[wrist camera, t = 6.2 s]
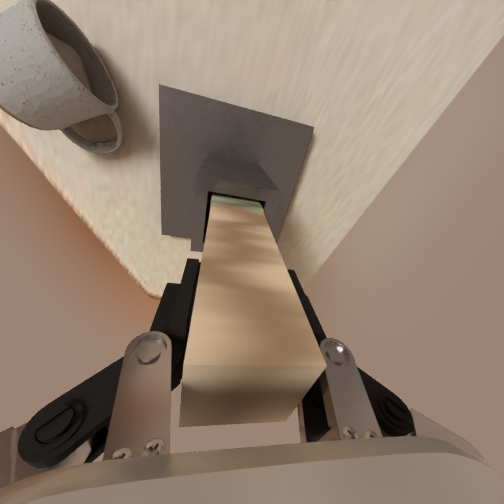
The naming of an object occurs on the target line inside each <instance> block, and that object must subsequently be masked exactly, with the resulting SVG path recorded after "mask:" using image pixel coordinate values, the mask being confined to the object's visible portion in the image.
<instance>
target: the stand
mask: <svg viewBox="0 0 504 504" xmlns="http://www.w3.org/2000/svg"><path fill="white" fill-rule="evenodd" d="M159 115H160V170H161V224H162V235H170V236H177V237H185V238H192V239H191V251H198V252H203V249H204V243H205V238H206V232H207V226H208V220H209V214H210V206H211V199H212V196H213V192H217V193H222V194H228V195H233V196H239V197H244V198H250V199H255V200H258V201H259V203H260V204H261V206H262V208H263V210H264V212H263V213H264V215H265V217H266V220H267V222H268V225H269V227H270V230H271V232H272V234H273V237H274V239H275V242H276V244H277V241H278V238H279V235H280V231H281V228H282V225H283V222H284V219H285V216H286V213H287V210H288V207H289V204H290V201H291V198H292V194H293V191H294V188H295V185H296V182H297V179H298V176H299V173H300V170H301V167H302V164H303V160H304V157H305V154H306V151H307V148H308V145H309V142H310V139H311V136H312V133H313V130H314V127H312V126H308V125H305V124H301V123H297V122H294V121H290V120H287V119H283V118H279V117H276V116H272V115H268V114H265V113H261V112H258V111H254V110H250V109H247V108H243V107H239V106H236V105H232V104H229V103H225V102H221V101H218V100H214V99H210V98H207V97H203V96H200V95H196V94H192V93H189V92H185V91H181V90H178V89H174V88H171V87H167V86H163V85H160V84H159Z"/></svg>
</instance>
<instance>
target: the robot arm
mask: <svg viewBox="0 0 504 504" xmlns="http://www.w3.org/2000/svg"><path fill="white" fill-rule="evenodd" d="M200 266H201V262H199V259H190V258H188V259H187V262H186V266H185V270H184V273H183V277H182V280H181V284H176V283H167V285H166V287H165V290H164V293H163V295H162V298H161V301H160V304H159V307H158V309H157V312H156V315H155V317H154V320H153V323H152V326H151V329H150V331H149V332H146V333H143V334H141V335H139V336H137V337H136V338H135V339H133V340H132V341H131V342H130V344H129V345H128V346H127V349H126V351H125V355H124V357H122V358H120V359H119V360H117V361H116V362H114V363H112V364H111V365H109V366H108V367H106V368H104V369H103V370H101V371H100V372H98V373H97V374H95V375H93V376H92V377H90V378H89V379H87V380H85V381H84V382H82V383H81V384H79V385H77V386H76V387H74V388H73V389H71V390H70V391H68V392H66V393H65V394H63V395H62V396H60V397H58V398H57V399H55V400H54V401H52V402H51V403H49V404H48V405H46V406H45V407H44V408H42V409H41V410H40V411H38V412H37V413H36V414H35V415H34V416H33V417H32V418H31V420H30V421H29V422H27V423H25V424H23V425H21V426H19V427H17V428H14V427H10V428H8V429H6V430H4V431H2V432H0V504H504V475H503V474H502V473H501V472H500V471H498V470H497V469H496V468H495V467H493V466H492V465H491V464H489V463H488V462H486V461H485V460H484V458H483V457H482V456H481V454H480V453H479V452H478V450H477V449H476V448H475V447H473V445H472V444H471V443H469V442H468V441H466V440H465V439H464V438H462V437H461V436H459V435H457V434H456V433H454V432H452V431H450V430H449V429H447V428H445V427H443V426H442V425H440V424H438V423H436V422H435V421H433V420H431V419H429V418H427V417H426V416H424V415H422V414H421V413H419V412H417V411H415V410H414V409H412V408H411V409H408V408H407V406H406V405H405V404H404V403H403V401H402V400H401V399H400V398H399V397H397V396H396V395H395V394H394V393H393V392H391V391H390V390H388V389H387V388H386V387H384V386H383V385H382V384H380V383H379V382H377V381H376V380H375V379H373V378H372V377H371V376H369V375H368V374H366V373H365V372H364V371H362V370H361V369H359V368H358V367H357V366H356V363H355V360H354V357H353V355H352V353H351V351H350V350H349V349H348V348H347V347H346V346H345V345H344V344H343V343H342V342H340V341H338V340H336V339H333V338H326V335H325V333H324V331H323V329H322V327H321V325H320V323H319V320H318V318H317V316H316V314H315V312H314V310H313V307H312V306H311V303H310V301H309V299H308V297H307V296H306V295H305V293H304V291H303V289H302V287H301V284H300V282H299V280H298V278H297V276H296V273H295V271H294V270H288V269H287V271H288V273H289V275H290V278H291V280H292V283H293V285H294V288H295V290H296V292H297V295H298V297H299V300H300V302H301V304H302V307H303V309H304V312H305V314H306V317H307V319H308V321H309V324H310V326H311V329H312V331H313V333H314V336H315V338H316V341H317V343H318V346H319V348H320V350H321V353H322V355H323V358H324V360H325V362H326V365H327V367H326V368H325V369H324V371H323V372H322V373H321V375H320V376H319V377H318V379H317V380H316V381H315V383H314V384H313V385H312V387H311V388H310V389H309V391H308V392H307V393H306V395H305V396H304V397H303V399H302V400H301V401H300V403H299V404H298V405H297V409H298V419H299V430H300V439H301V443H297V444H285V445H271V446H259V447H246V448H235V449H222V450H211V451H198V452H187V453H174V454H170V413H171V410H170V409H171V408H170V407H171V391H172V390H174V389H175V388H176V387H177V386H178V385H179V384H180V380H181V379H182V375H183V365H184V359H185V353H186V347H187V342H188V336H189V330H190V324H191V318H192V313H193V307H194V301H195V295H196V290H197V284H198V278H199V272H200ZM103 452H104V455H103V460H102V461H98V462H93V461H94V460H95V459H96V458H97V457H98V456H100V455H101V454H102V453H103Z"/></svg>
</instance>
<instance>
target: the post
mask: <svg viewBox="0 0 504 504" xmlns="http://www.w3.org/2000/svg"><path fill="white" fill-rule="evenodd" d="M263 212H264V210H263V208H262V206H261V204H260V203H259V201H258V200H255V199H250V198H244V197H239V196H233V195H228V194H222V193H217V192H213V196H212V199H211V206H210V214H209V220H208V226H207V232H206V238H205V243H204V249H203V255H202V261H201V266H200V272H199V278H198V284H197V290H196V295H195V301H194V307H193V313H192V318H191V324H190V330H189V336H188V342H187V347H186V353H185V359H184V365H183V378H182V392H181V405H180V419H179V427H189V426H207V425H226V424H243V423H263V422H280V421H286V420H287V419H288V417H289V416H290V415H291V413H292V412H293V411H294V409H295V408H296V407H297V405H298V404H299V403H300V401H301V400H302V399H303V397H304V396H305V395H306V393H307V392H308V391H309V389H310V388H311V387H312V385H313V384H314V383H315V381H316V380H317V379H318V377H319V376H320V375H321V373H322V372H323V371H324V369H325V368H326V367H327V365H326V362H325V360H324V358H323V355H322V353H321V350H320V348H319V346H318V343H317V341H316V338H315V336H314V333H313V331H312V329H311V326H310V324H309V321H308V319H307V317H306V314H305V312H304V309H303V307H302V304H301V302H300V300H299V297H298V295H297V292H296V290H295V288H294V285H293V283H292V280H291V278H290V275H289V273H288V271H287V268H286V266H285V263H284V261H283V259H282V256H281V254H280V251H279V249H278V246H277V244H276V242H275V239H274V237H273V234H272V232H271V230H270V227H269V225H268V222H267V220H266V217H265V215H264V213H263Z"/></svg>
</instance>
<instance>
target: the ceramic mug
mask: <svg viewBox="0 0 504 504" xmlns="http://www.w3.org/2000/svg"><path fill="white" fill-rule="evenodd" d="M118 103H119V101H118V95H117V91H116V88H115V85H114V83H113V81H112V79H111V77H110V75H109V72H108V70H107V68H106V67H105V65H104V63H103V62H102V60H101V58H100V56H99V55H98V54H97V52H96V50H95V49H94V47H93V46H92V44H91V43H90V42H89V41H88V39H87V38H86V36H85V35H84V34H83V32H82V31H81V30H80V29H79V28H78V26H77V25H76V24H75V23H74V22H73V21H72V20H71V19H70V18H69V17H68V16H67V15H66V14H65V12H64V11H62V10H61V9H60V8H59V7H58V6H57V5H55V4H54V3H53V2H52V1H50V0H21V1H19V2H18V3H17V4H15V5H14V6H12V7H10V8H8V9H7V10H5V11H4V12H2V13H1V14H0V108H1V109H2V110H3V111H4V112H6V113H7V114H9V115H10V116H12V117H13V118H15V119H16V120H18V121H20V122H22V123H24V124H26V125H28V126H30V127H33V128H36V129H39V130H58V129H59V130H61V131H62V132H63V134H64V135H65V136H67V137H68V138H69V139H70V140H71V141H72V142H74V143H75V144H77V145H78V146H80V147H81V148H83V149H85V150H88V151H91V152H95V153H110V152H113V151H115V150H117V149H118V148H119V147H120V146H121V144H122V140H123V135H124V132H123V127H122V124H121V121H120V119H119V117H118V115H117V113H116V112H115V110H116V109H117V107H118ZM103 114H107V115H108V116H109V117H110V118H111V120H112V122H113V124H114V126H115V128H116V131H117V140H114V141H110V142H106V143H100V142H99V143H97V144H95V143H92V142H90V141H88V140H86V139H84V138H83V137H82V136H80V135H78V134H77V133H76V132H75V131H74V130H73V129H72V128H71V127H70V126H72V125H74V124H76V123H79V122H81V121H85V120H88V119H91V118H94V117H97V116H100V115H103Z"/></svg>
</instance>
